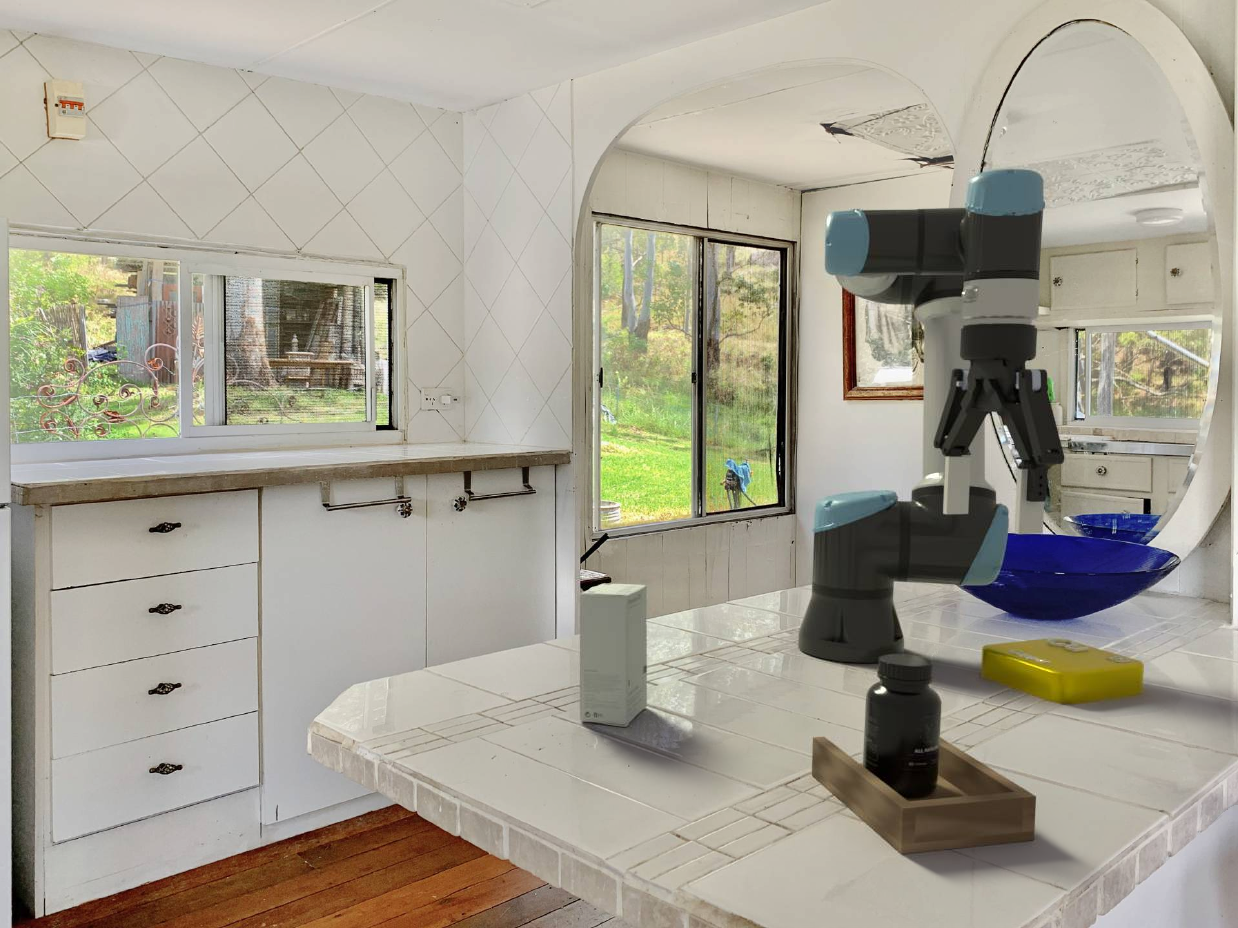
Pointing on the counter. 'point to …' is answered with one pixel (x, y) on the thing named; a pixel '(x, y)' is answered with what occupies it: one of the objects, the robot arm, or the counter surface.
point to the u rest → (931, 802)
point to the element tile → (1062, 670)
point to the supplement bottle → (903, 726)
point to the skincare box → (613, 653)
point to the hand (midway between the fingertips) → (989, 523)
